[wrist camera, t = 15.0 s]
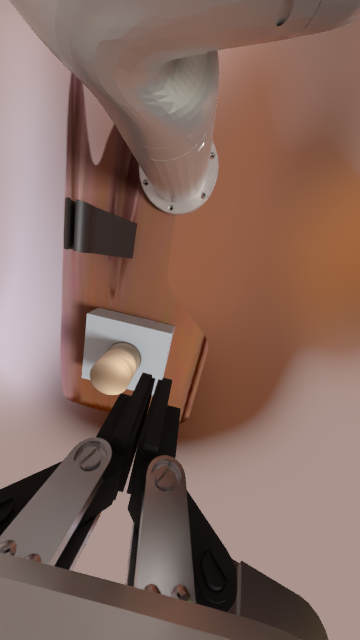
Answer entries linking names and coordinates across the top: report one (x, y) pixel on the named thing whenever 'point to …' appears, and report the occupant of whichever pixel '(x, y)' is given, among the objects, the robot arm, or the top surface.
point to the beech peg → (115, 368)
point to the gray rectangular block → (125, 328)
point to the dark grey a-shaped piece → (97, 230)
